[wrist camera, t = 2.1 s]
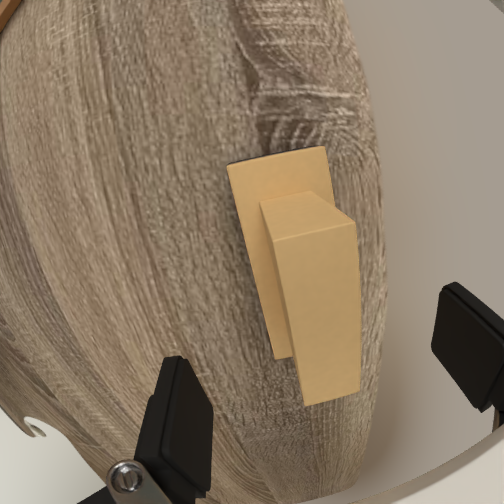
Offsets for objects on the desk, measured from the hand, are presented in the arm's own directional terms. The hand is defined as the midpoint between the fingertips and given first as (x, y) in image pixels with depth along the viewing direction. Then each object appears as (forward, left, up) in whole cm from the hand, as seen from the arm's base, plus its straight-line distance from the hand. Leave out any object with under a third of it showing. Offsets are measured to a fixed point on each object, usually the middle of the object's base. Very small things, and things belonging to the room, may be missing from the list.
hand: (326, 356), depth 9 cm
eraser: (0, 0, -8) cm, 8 cm away
